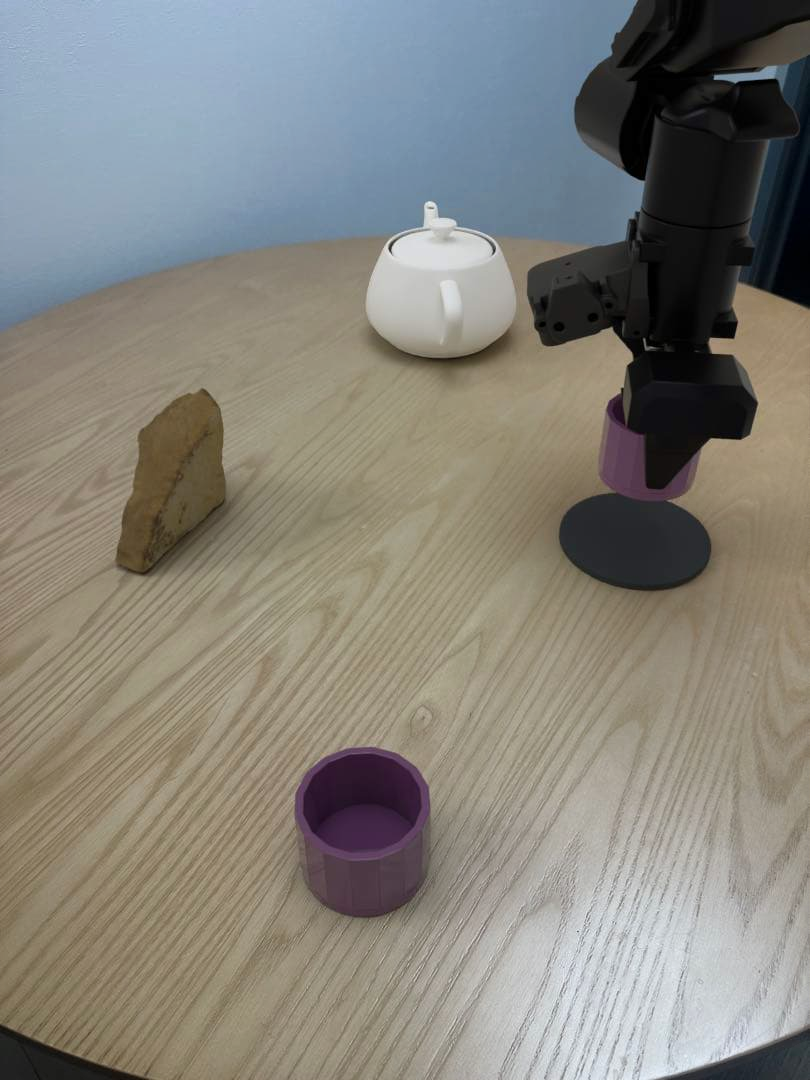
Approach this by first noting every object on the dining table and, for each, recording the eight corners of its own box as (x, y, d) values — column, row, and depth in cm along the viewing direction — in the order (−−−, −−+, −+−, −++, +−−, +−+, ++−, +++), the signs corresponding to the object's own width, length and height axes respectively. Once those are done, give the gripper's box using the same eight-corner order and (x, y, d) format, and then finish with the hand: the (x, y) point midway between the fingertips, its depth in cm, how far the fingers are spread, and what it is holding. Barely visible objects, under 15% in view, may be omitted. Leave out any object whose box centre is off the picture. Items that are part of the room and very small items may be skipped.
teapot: (532, 387, 80) (543, 264, 73) (371, 393, 79) (368, 270, 73) (494, 282, 97) (500, 175, 90) (362, 286, 96) (358, 179, 90)
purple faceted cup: (454, 853, 45) (457, 795, 42) (368, 943, 41) (365, 887, 39) (363, 784, 48) (360, 726, 45) (275, 863, 44) (266, 805, 42)
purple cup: (710, 471, 60) (725, 410, 57) (663, 513, 57) (676, 450, 54) (629, 438, 63) (638, 379, 61) (579, 476, 60) (587, 415, 57)
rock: (141, 578, 57) (276, 498, 61) (65, 454, 55) (208, 380, 60) (111, 582, 67) (229, 512, 71) (45, 476, 65) (170, 411, 69)
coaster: (736, 537, 64) (738, 531, 64) (662, 612, 58) (663, 606, 58) (609, 481, 69) (610, 475, 69) (529, 545, 63) (530, 539, 63)
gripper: (542, 153, 58) (523, 380, 67) (542, 273, 43) (518, 541, 53) (728, 158, 57) (682, 388, 66) (793, 283, 42) (722, 554, 52)
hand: (649, 458), depth 59 cm, fingers closed on purple cup, 6 cm apart
